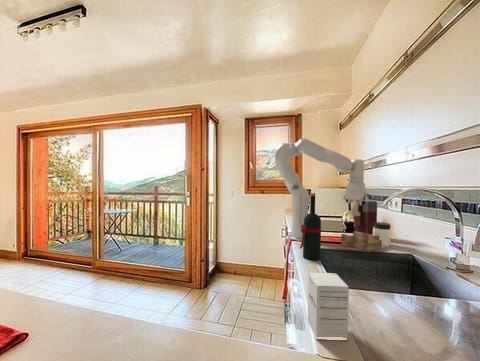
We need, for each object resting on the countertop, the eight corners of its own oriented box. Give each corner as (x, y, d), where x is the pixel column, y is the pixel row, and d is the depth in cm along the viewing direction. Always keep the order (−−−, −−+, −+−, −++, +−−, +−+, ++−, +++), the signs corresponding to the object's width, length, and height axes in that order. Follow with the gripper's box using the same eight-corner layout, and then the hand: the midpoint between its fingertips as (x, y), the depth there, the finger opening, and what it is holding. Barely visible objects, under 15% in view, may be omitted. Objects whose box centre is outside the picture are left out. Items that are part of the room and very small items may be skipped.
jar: (387, 247, 125) (388, 225, 125) (371, 244, 131) (371, 223, 131) (391, 244, 131) (392, 223, 131) (375, 241, 137) (376, 221, 137)
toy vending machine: (351, 236, 150) (352, 193, 150) (364, 234, 154) (365, 192, 154) (364, 239, 142) (365, 194, 141) (376, 237, 146) (377, 193, 146)
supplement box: (307, 320, 59) (307, 271, 59) (336, 321, 59) (337, 272, 59) (315, 341, 52) (316, 285, 52) (348, 342, 52) (349, 286, 51)
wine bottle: (295, 256, 109) (296, 192, 108) (313, 254, 112) (314, 192, 112) (304, 262, 101) (306, 193, 101) (324, 259, 104) (325, 193, 104)
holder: (341, 244, 129) (341, 234, 129) (354, 241, 137) (354, 231, 137) (369, 252, 117) (369, 240, 116) (381, 247, 125) (381, 236, 125)
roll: (349, 214, 136) (349, 195, 136) (353, 214, 139) (353, 195, 139) (357, 216, 132) (358, 196, 132) (361, 215, 135) (362, 196, 135)
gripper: (339, 180, 140) (338, 210, 140) (368, 180, 126) (367, 213, 127) (345, 180, 144) (344, 209, 145) (374, 180, 131) (373, 212, 131)
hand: (355, 211), depth 136 cm, fingers closed on roll, 5 cm apart
